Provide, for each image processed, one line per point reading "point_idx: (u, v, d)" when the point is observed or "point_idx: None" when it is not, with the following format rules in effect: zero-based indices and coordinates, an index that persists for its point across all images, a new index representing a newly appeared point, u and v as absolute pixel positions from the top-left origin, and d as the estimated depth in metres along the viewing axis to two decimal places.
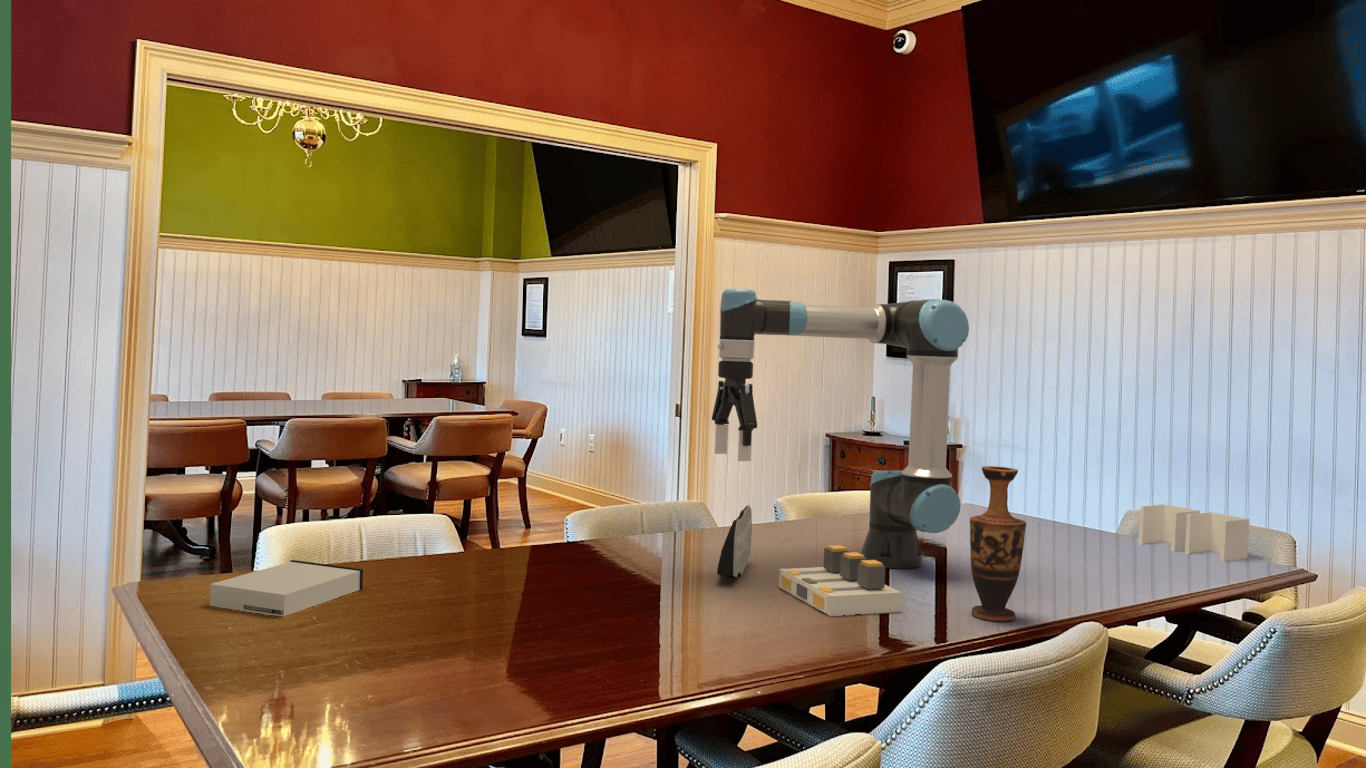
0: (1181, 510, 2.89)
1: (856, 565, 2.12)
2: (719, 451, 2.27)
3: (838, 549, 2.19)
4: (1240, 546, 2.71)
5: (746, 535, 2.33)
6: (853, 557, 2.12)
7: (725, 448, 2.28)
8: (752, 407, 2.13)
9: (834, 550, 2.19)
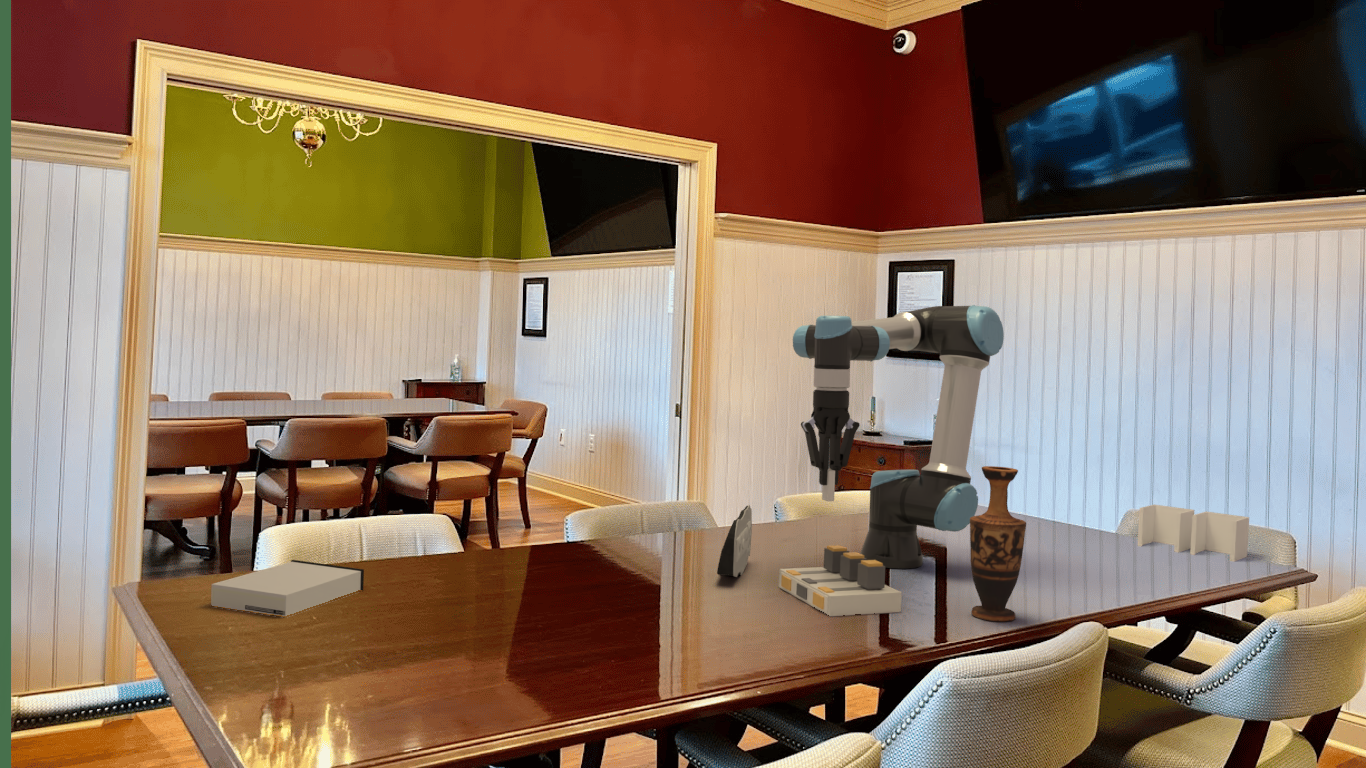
0: (1174, 510, 2.89)
1: (856, 565, 2.12)
2: None
3: (838, 549, 2.19)
4: (1243, 545, 2.73)
5: (746, 535, 2.33)
6: (853, 557, 2.12)
7: None
8: (811, 447, 2.11)
9: (834, 550, 2.19)
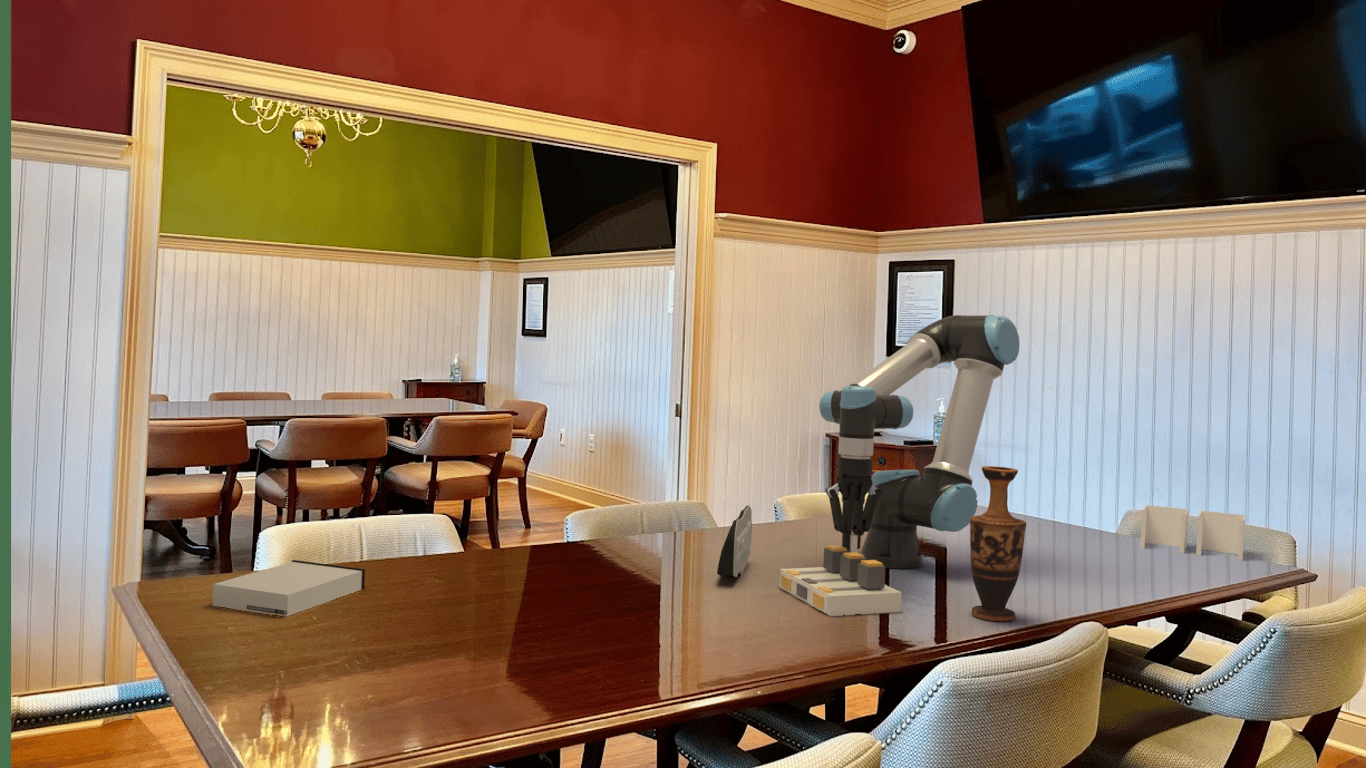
0: (1168, 510, 2.88)
1: (856, 565, 2.12)
2: None
3: (838, 549, 2.19)
4: None
5: (746, 535, 2.33)
6: (853, 557, 2.12)
7: None
8: (835, 513, 2.19)
9: (834, 550, 2.19)
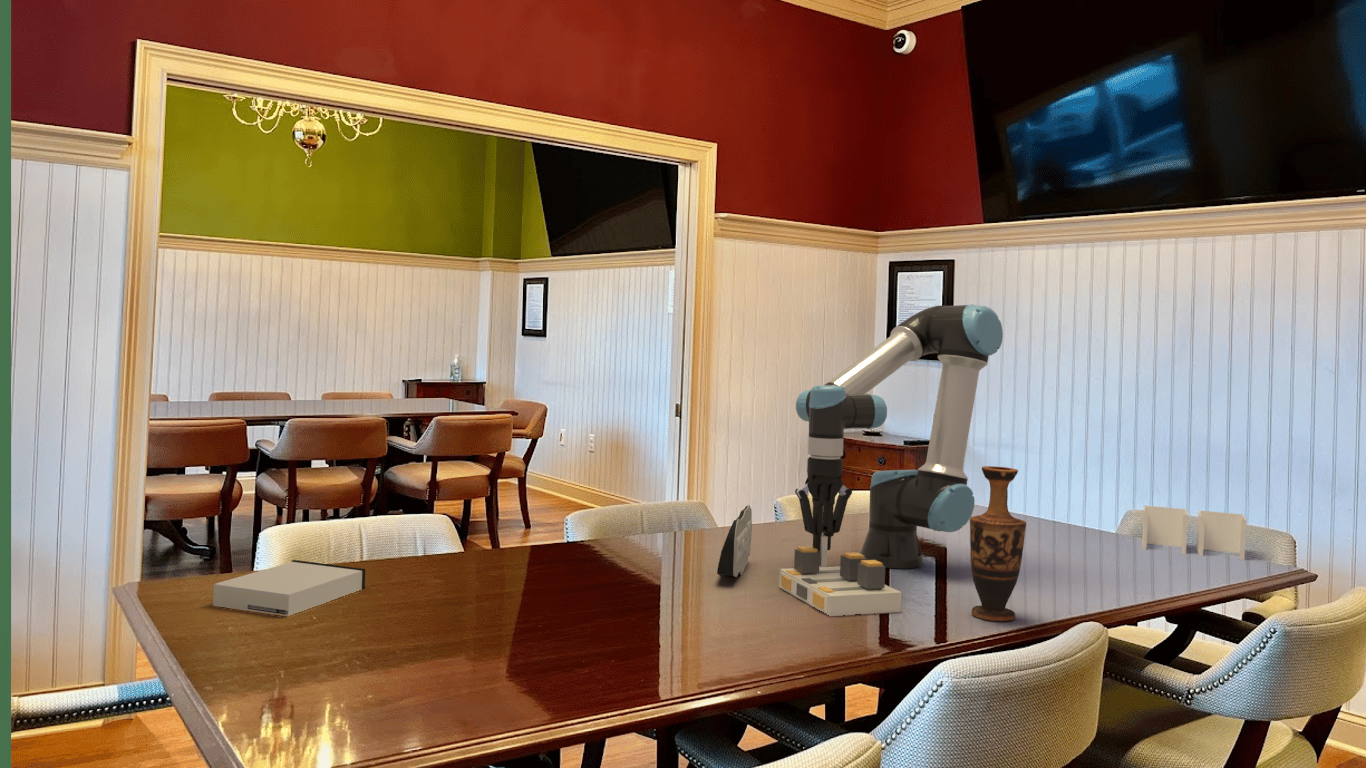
0: (1165, 510, 2.88)
1: (856, 565, 2.12)
2: None
3: (808, 550, 2.17)
4: None
5: (746, 535, 2.33)
6: (853, 557, 2.12)
7: None
8: (805, 514, 2.17)
9: (804, 551, 2.16)
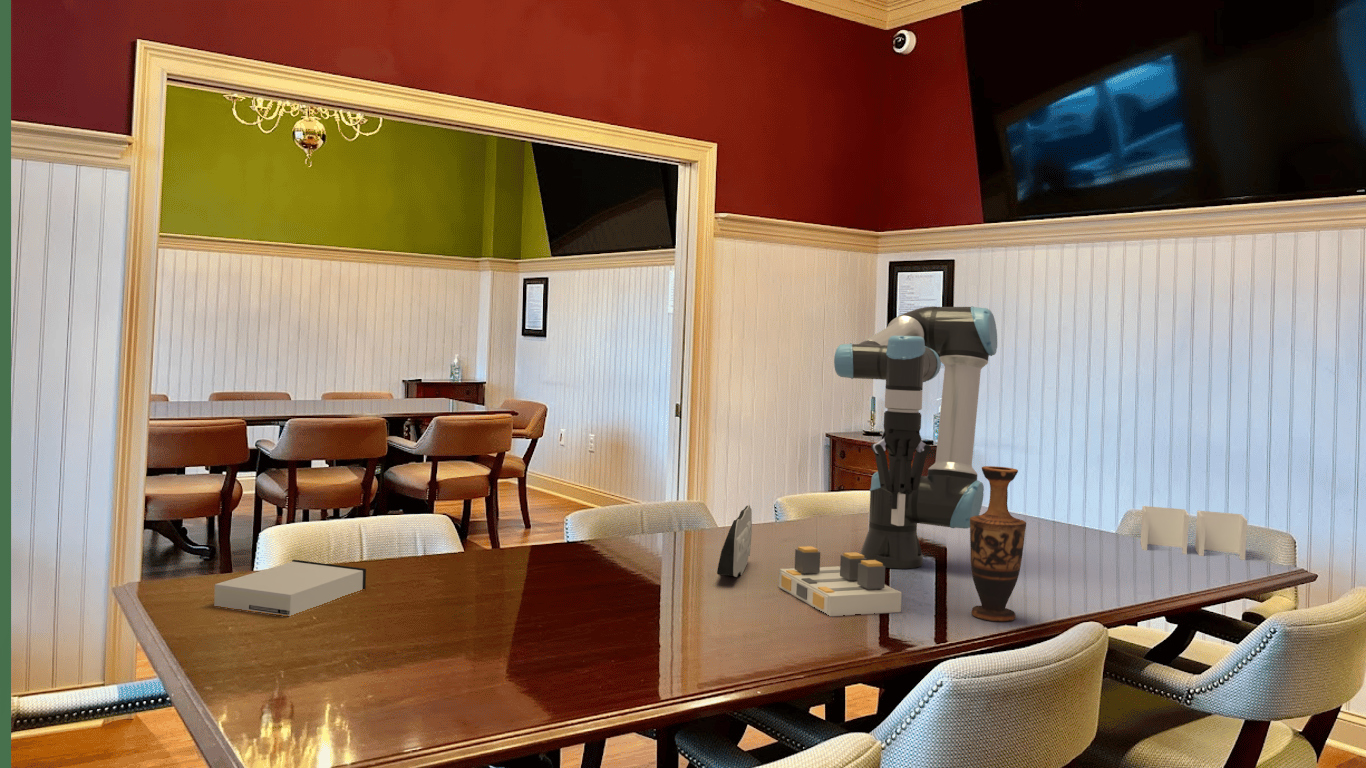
0: (1164, 510, 2.87)
1: (856, 565, 2.12)
2: None
3: (809, 550, 2.17)
4: None
5: (746, 535, 2.33)
6: (853, 557, 2.12)
7: None
8: (882, 470, 2.06)
9: (805, 551, 2.16)
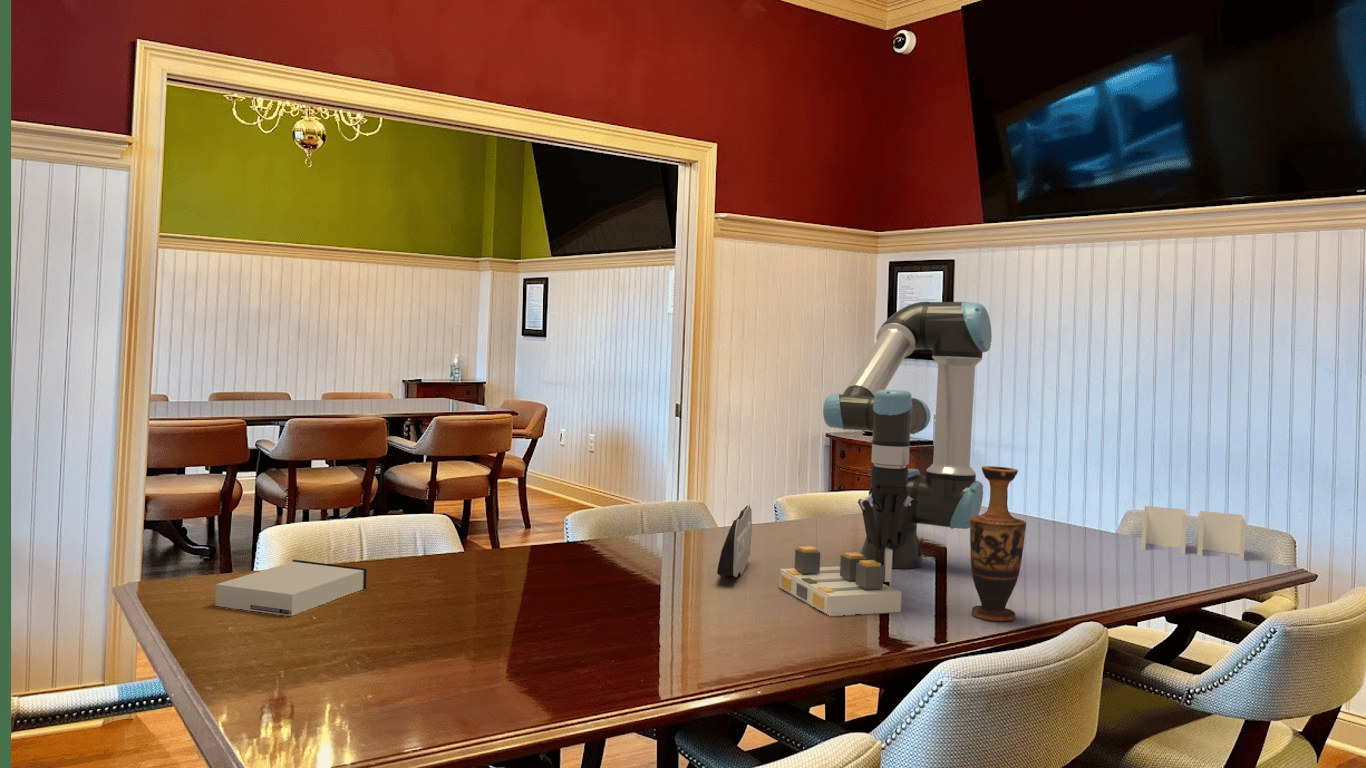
0: (1165, 510, 2.87)
1: None
2: None
3: (809, 550, 2.17)
4: None
5: (746, 535, 2.33)
6: (853, 557, 2.12)
7: None
8: (869, 526, 2.05)
9: (805, 551, 2.16)
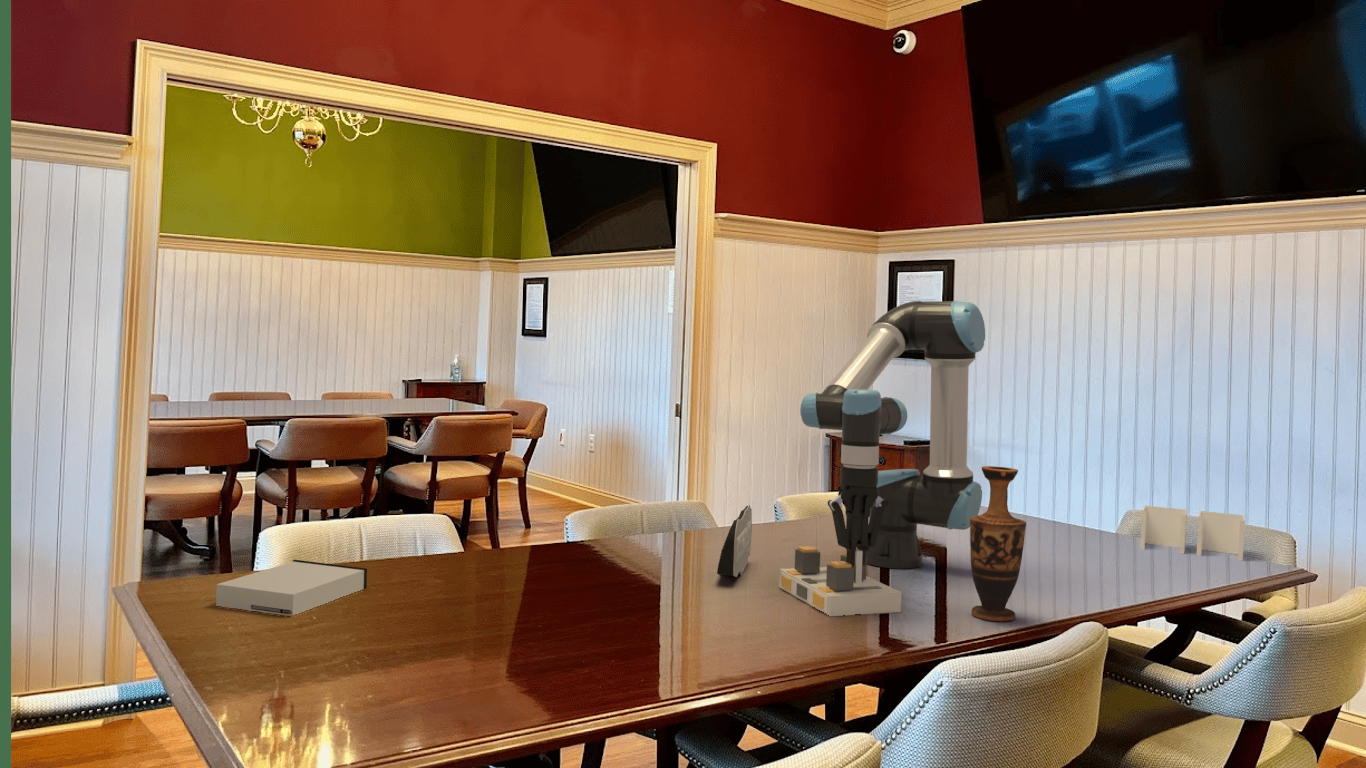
0: (1166, 510, 2.87)
1: None
2: None
3: (809, 550, 2.17)
4: None
5: (746, 535, 2.33)
6: None
7: None
8: (839, 527, 2.03)
9: (805, 551, 2.16)
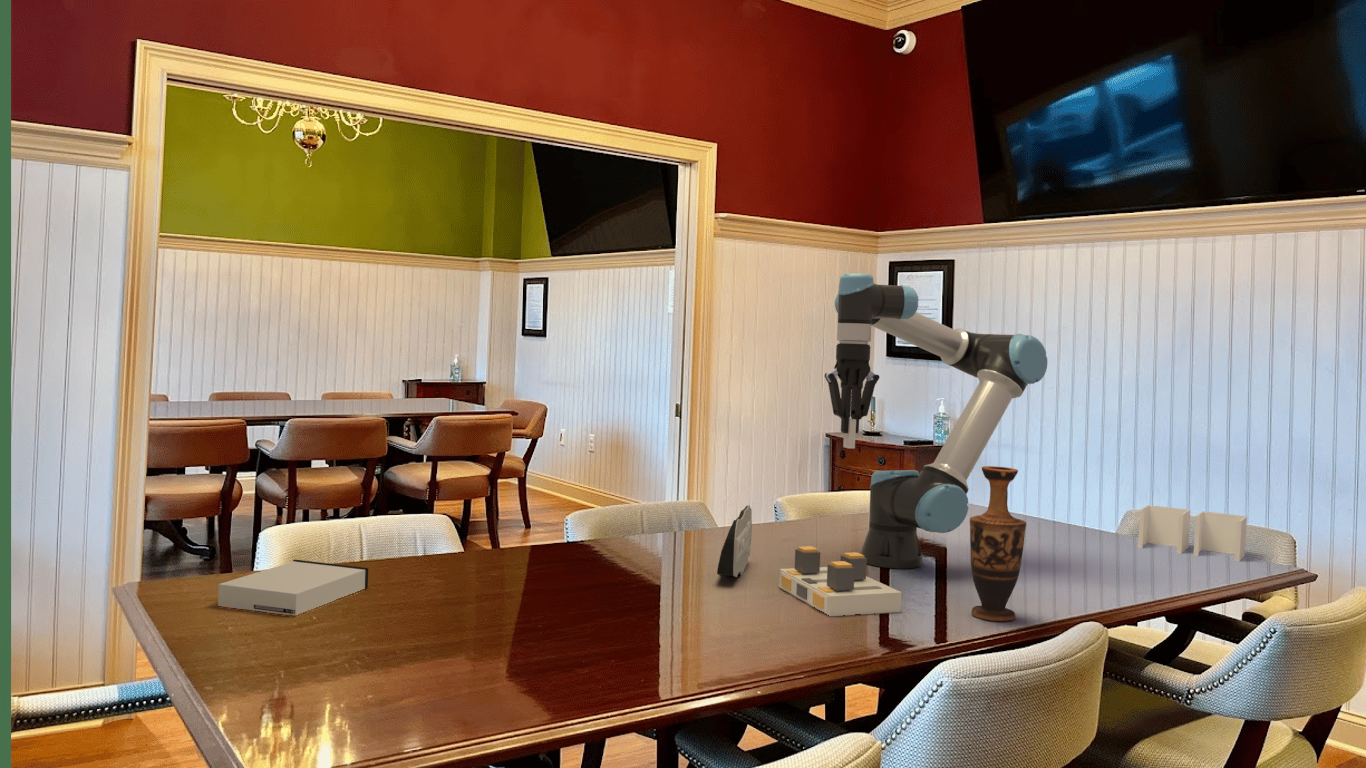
0: (1169, 510, 2.88)
1: (856, 565, 2.12)
2: None
3: (809, 550, 2.17)
4: (1243, 544, 2.74)
5: (746, 535, 2.33)
6: (853, 557, 2.12)
7: None
8: (834, 397, 2.25)
9: (805, 551, 2.16)
